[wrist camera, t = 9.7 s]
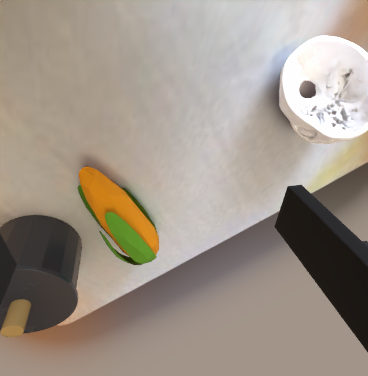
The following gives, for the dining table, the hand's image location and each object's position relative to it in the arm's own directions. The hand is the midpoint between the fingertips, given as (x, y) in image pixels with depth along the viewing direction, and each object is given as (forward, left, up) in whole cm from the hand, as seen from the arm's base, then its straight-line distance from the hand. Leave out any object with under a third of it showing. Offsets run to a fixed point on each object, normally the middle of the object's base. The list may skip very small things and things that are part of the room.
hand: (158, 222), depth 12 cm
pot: (+23, -16, -25) cm, 38 cm away
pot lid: (+23, -16, -15) cm, 32 cm away
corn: (+17, -3, -25) cm, 30 cm away
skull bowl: (0, +26, -25) cm, 36 cm away
